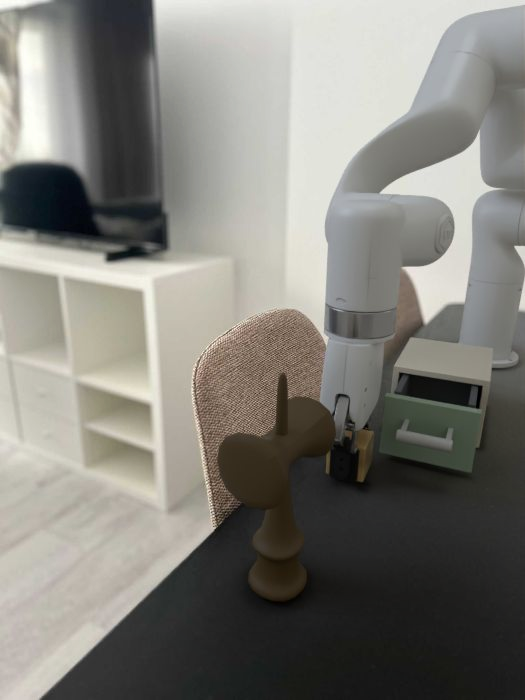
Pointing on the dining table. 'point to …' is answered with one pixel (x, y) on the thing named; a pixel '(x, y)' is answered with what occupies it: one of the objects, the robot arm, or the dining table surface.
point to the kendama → (276, 487)
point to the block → (365, 452)
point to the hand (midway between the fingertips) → (349, 465)
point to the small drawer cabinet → (448, 366)
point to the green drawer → (431, 422)
